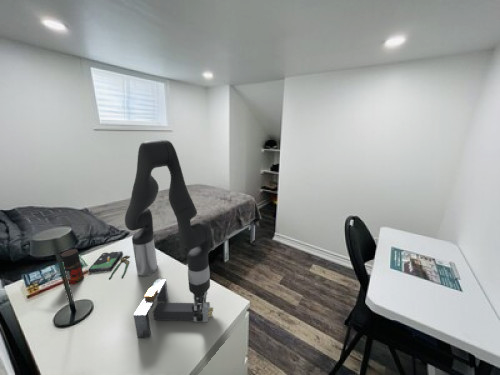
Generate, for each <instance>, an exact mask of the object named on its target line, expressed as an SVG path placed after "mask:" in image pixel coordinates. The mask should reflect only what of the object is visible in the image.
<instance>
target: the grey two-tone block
mask: <svg viewBox="0 0 500 375" xmlns="http://www.w3.org/2000/svg"><path fill="white" fill-rule="evenodd" d="M198 304H202V303H198ZM192 305H194V302H157V304H156V305H155V308H153V311H152V313H153V318H154V320H155V321H193V322H195V323H198V322H199V323H204V322H205V323H207V322H208V320H209V317H213V312H214V307H212V306H211V303H210V301H209V302H208V301H206V302H204V306H203V321H197V320H196V317H194V316H193V312H192ZM200 309H201V308H200Z"/></svg>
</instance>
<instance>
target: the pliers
mask: <svg viewBox="0 0 500 375" xmlns="http://www.w3.org/2000/svg"><path fill="white" fill-rule="evenodd" d="M129 259H130V255H124V256H122V257H121V258H120V262H119V263H117V264H116V265H115V266H116V267H114V268H113V269H114V270H113V271H111V274H110V276H109V277H108V280H111V279H112V278H113V275H114V274H115V273H116V271H117V270H118V269H119V267H120V266H121V265H122V264H123V263H124V264H125V267H124V271H123V273H122V274H121V280H122V279H124V277H125V276H126V273H127V271H128V268H129V264H130V260H129Z"/></svg>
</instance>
